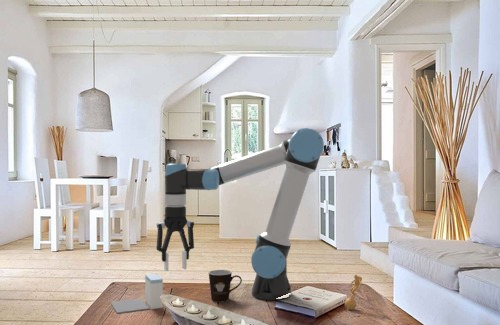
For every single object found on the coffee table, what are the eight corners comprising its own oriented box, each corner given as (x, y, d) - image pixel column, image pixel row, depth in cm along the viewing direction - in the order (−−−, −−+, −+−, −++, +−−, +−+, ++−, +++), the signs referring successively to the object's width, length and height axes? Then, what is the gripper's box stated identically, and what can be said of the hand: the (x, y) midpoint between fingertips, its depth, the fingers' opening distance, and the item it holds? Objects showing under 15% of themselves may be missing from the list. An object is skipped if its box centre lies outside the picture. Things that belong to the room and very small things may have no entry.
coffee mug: (204, 301, 171) (204, 273, 171) (214, 295, 179) (214, 268, 179) (233, 304, 166) (233, 276, 166) (242, 298, 174) (242, 271, 174)
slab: (156, 300, 171) (156, 273, 171) (162, 307, 163) (162, 279, 163) (145, 302, 169) (145, 274, 169) (151, 309, 161) (151, 280, 161)
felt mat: (141, 299, 173) (141, 298, 173) (149, 309, 161) (149, 308, 161) (110, 303, 168) (110, 302, 168) (117, 313, 156) (117, 312, 156)
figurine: (341, 306, 165) (341, 272, 165) (357, 305, 166) (357, 271, 166) (348, 313, 157) (348, 277, 157) (366, 313, 157) (366, 277, 157)
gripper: (196, 204, 177) (196, 264, 177) (147, 206, 169) (146, 269, 169) (203, 205, 170) (203, 268, 170) (152, 207, 162) (152, 274, 162)
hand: (175, 269), depth 170 cm, fingers open, 6 cm apart
